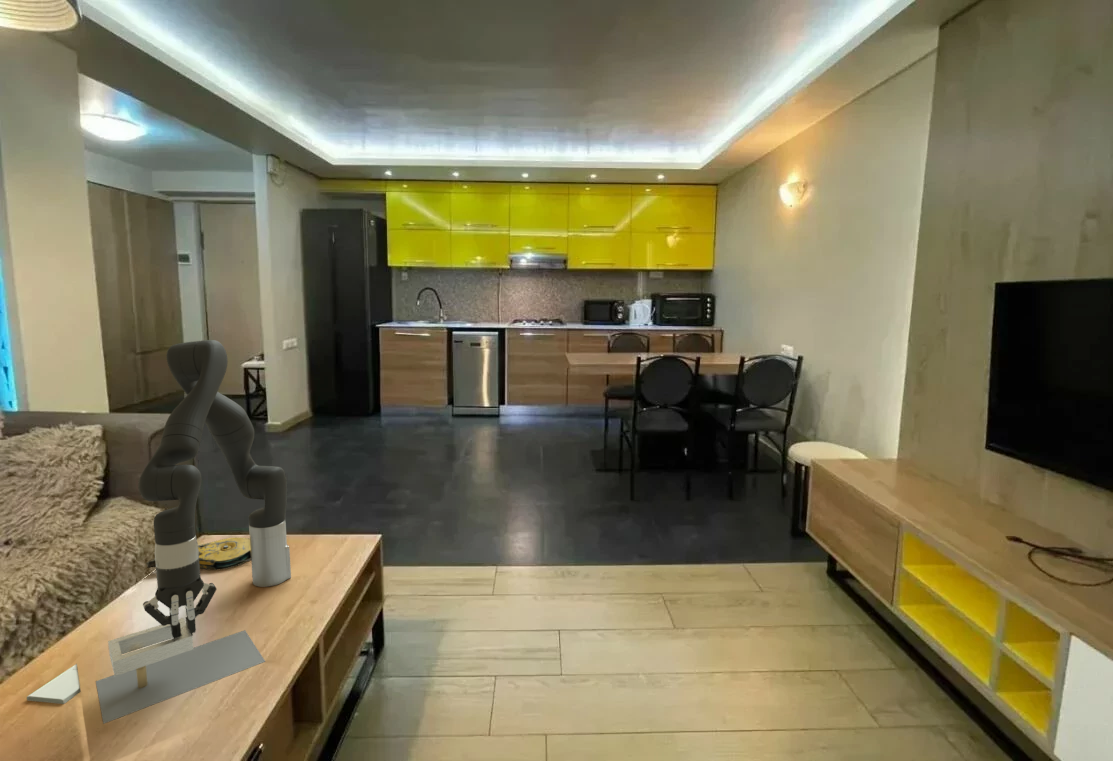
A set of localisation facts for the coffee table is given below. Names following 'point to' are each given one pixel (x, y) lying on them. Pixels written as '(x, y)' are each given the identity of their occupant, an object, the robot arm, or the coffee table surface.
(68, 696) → the external hard drive
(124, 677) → the board
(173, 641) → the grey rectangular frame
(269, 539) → the robot arm
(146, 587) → the coffee table surface
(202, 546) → the pulley block
